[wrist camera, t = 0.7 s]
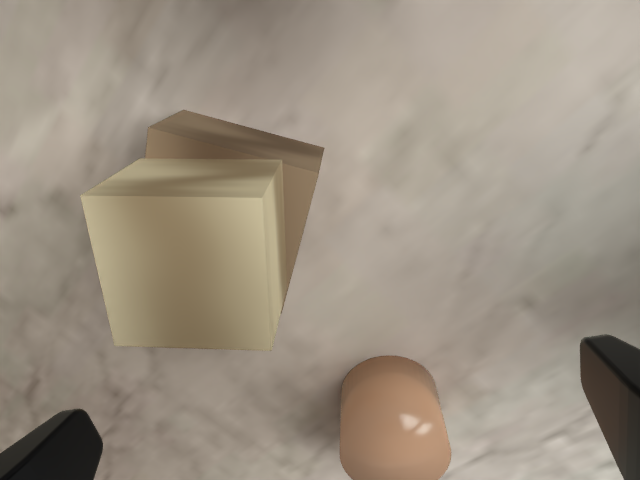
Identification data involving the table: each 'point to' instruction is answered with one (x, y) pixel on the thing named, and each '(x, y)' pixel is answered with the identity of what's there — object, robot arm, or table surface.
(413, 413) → the peach cylinder
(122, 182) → the oak block
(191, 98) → the table surface
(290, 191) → the walnut block
